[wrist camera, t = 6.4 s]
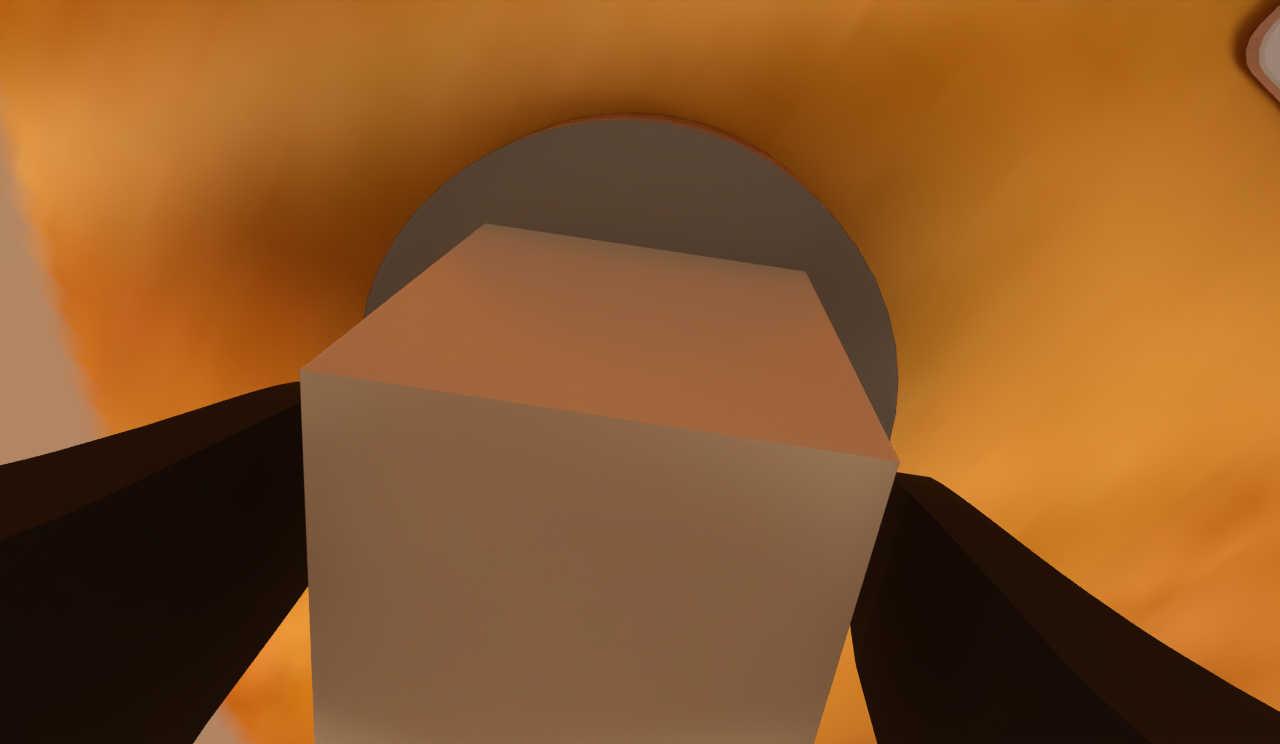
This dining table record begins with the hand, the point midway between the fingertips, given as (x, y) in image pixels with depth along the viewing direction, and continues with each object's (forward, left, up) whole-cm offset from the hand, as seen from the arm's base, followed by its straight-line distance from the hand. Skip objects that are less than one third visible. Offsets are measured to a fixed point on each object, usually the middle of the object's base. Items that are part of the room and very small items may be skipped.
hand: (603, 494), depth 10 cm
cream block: (0, 0, -3) cm, 3 cm away
